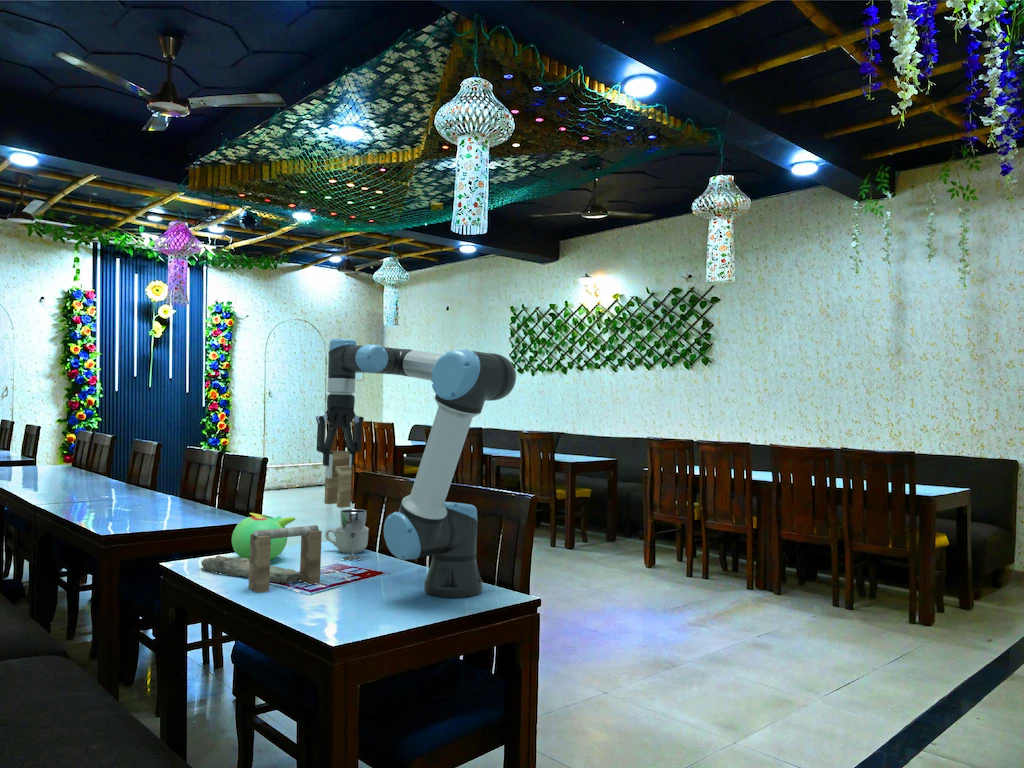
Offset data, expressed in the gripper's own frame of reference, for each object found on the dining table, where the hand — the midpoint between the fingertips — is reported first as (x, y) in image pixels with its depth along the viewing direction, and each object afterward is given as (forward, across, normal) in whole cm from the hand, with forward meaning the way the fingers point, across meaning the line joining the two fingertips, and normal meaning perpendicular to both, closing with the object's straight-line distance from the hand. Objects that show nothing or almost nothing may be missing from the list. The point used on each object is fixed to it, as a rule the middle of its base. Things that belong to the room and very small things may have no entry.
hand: (338, 477), depth 200 cm
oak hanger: (+8, 0, 0) cm, 8 cm away
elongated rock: (+29, +18, -17) cm, 38 cm away
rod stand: (+28, +14, +1) cm, 32 cm away
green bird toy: (+28, +8, -33) cm, 45 cm away
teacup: (+28, -20, -32) cm, 47 cm away
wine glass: (+28, -16, -21) cm, 39 cm away
